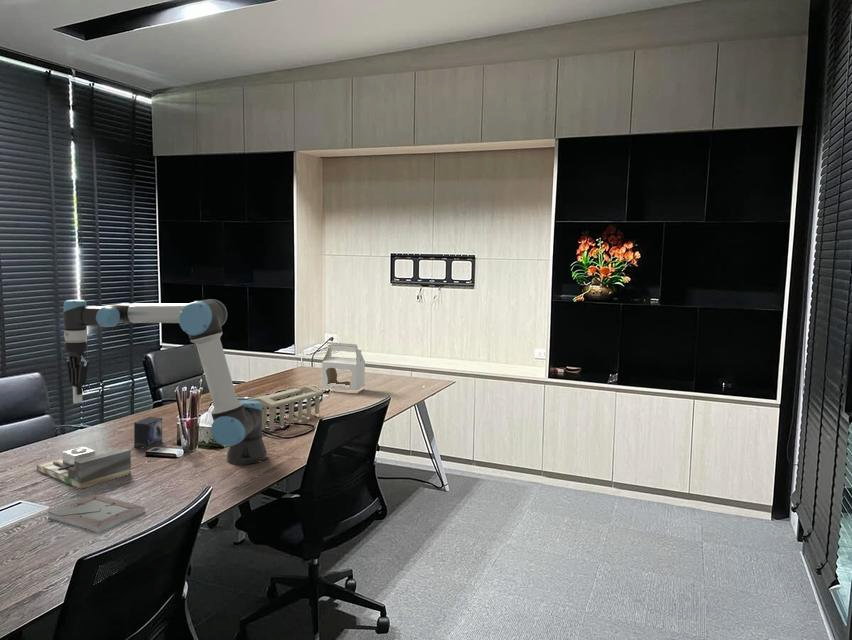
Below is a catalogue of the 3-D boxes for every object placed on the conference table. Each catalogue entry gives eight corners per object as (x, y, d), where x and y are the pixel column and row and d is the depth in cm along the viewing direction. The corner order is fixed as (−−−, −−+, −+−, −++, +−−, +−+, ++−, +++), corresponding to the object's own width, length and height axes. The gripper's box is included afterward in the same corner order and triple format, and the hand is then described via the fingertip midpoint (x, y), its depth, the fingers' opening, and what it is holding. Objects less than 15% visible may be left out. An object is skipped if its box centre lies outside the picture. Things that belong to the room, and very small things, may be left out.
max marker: (81, 477, 218) (81, 468, 218) (74, 479, 216) (74, 470, 216) (75, 474, 220) (74, 466, 220) (68, 476, 218) (67, 468, 218)
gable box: (321, 391, 369) (321, 343, 366) (330, 386, 382) (331, 340, 379) (356, 394, 364) (357, 346, 361) (364, 389, 376) (365, 343, 373)
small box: (147, 449, 257) (147, 424, 256) (133, 447, 258) (132, 422, 257) (163, 441, 267) (163, 417, 266) (149, 440, 269) (149, 416, 267)
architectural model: (271, 433, 285) (271, 400, 283) (247, 427, 293) (247, 395, 291) (323, 417, 314) (323, 387, 313) (299, 411, 322) (300, 383, 321)
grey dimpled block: (95, 464, 232) (95, 449, 231) (59, 473, 221) (59, 458, 220) (83, 459, 236) (83, 445, 235) (47, 468, 225) (47, 454, 225)
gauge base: (131, 474, 229) (130, 450, 228) (80, 489, 213) (79, 463, 212) (86, 457, 245) (85, 434, 244) (35, 470, 230) (34, 446, 229)
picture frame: (48, 519, 191) (98, 534, 182) (48, 511, 191) (98, 526, 182) (96, 500, 206) (144, 513, 197) (96, 493, 206) (144, 506, 197)
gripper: (56, 340, 237) (58, 401, 240) (75, 344, 230) (77, 407, 233) (76, 338, 243) (78, 398, 246) (95, 341, 236) (97, 403, 239)
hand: (77, 402), depth 239 cm, fingers closed
